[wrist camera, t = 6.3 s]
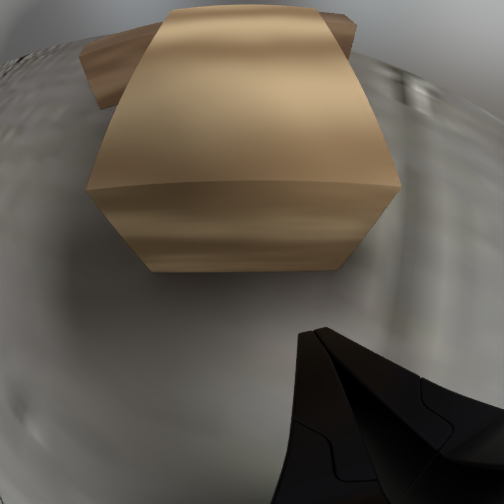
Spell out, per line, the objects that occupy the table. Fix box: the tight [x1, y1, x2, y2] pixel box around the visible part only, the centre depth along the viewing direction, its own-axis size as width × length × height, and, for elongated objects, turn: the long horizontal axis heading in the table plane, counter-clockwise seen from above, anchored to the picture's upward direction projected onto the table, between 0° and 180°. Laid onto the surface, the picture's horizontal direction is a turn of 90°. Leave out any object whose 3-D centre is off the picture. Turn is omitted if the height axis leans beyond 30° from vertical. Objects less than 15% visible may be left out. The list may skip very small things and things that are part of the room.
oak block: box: [86, 5, 402, 272], centre depth 15 cm, size 16×10×8 cm, turn 1°
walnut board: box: [79, 12, 357, 109], centre depth 19 cm, size 2×22×6 cm, turn 101°
